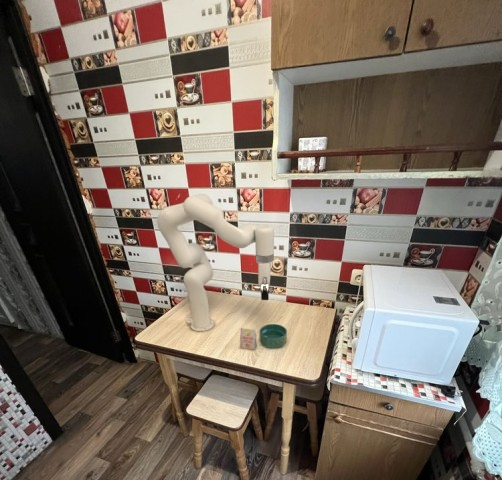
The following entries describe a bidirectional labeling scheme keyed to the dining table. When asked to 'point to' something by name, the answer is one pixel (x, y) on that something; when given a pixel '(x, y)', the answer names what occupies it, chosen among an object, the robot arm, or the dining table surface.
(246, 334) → the white juice carton
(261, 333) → the teal faceted bowl
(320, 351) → the dining table surface
